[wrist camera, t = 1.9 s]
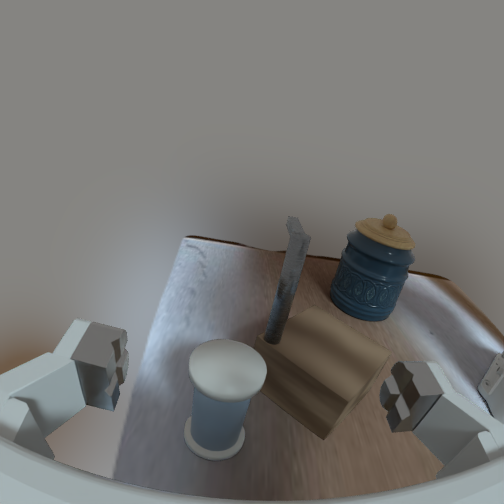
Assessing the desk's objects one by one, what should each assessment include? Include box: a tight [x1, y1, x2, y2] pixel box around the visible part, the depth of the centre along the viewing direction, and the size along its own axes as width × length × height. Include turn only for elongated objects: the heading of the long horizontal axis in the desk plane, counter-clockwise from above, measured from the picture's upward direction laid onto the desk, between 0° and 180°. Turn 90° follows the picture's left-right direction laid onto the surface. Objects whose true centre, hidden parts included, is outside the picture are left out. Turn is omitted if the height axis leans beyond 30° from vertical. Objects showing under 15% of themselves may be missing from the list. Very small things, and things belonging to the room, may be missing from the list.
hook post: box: [264, 216, 311, 345], centre depth 33 cm, size 2×6×12 cm, turn 1°
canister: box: [330, 214, 415, 321], centre depth 54 cm, size 13×13×18 cm
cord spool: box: [184, 339, 267, 461], centre depth 26 cm, size 6×6×11 cm
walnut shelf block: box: [254, 305, 392, 440], centre depth 35 cm, size 11×12×7 cm
